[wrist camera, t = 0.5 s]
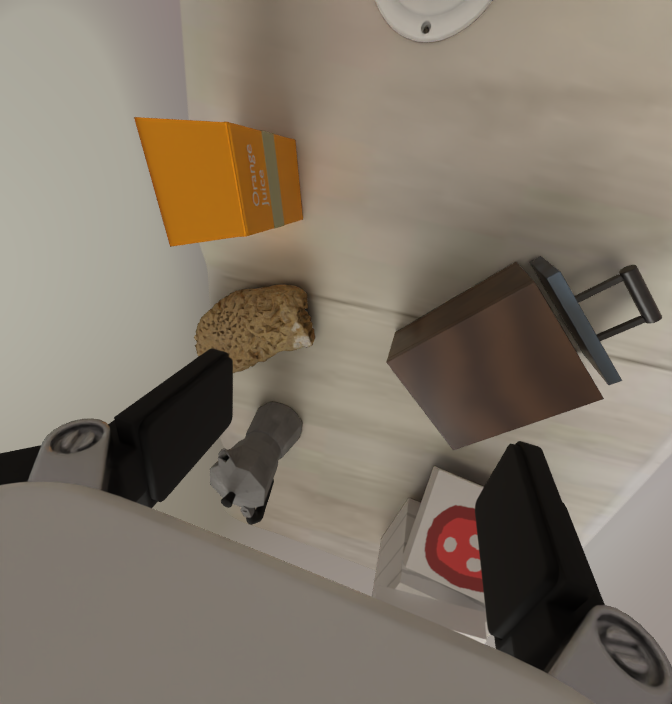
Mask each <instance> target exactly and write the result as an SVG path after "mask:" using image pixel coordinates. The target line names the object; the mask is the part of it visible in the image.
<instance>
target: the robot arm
mask: <svg viewBox="0 0 672 704" xmlns="http://www.w3.org/2000/svg"><path fill="white" fill-rule="evenodd" d="M492 1H493V0H375V2H376V5H377V7H378V9H379V11H380V12H381V14H382V16H383V18H384V20H385V21H386V22H387V23H388V24H389V25H390V27H391V28H392V29H393V30H394V31H396V32H397V33H399V34H400V35H402V36H403V37H405V38H408V39H410V40H413V41H418V42H434V41H441V40H443V39H446V38H448V37H451V36H454V35H455V34H457V33H459V32H460V31H462V30H463V29H465V28H466V27H468V26H469V25H470V24H471V23H472V22H474V21H475V20H476V19H477V18H478V17H479V16H480V15H481V14H482V13H483V12H484V10H485V9H486V8H487V7H488V6H489V5H490V3H491V2H492ZM425 28H429V31H428V33H426V34H425V33H424V32H423V31H424V29H425ZM232 409H233V360H232V358H229V354H228V353H227V352H224V351H220V350H217V349H214V348H211V349H209V350H207V351H206V352H205V353H203V354H202V355H200V356H199V357H198V358H196V359H195V360H194V361H192V362H191V363H189V364H188V365H187V366H185V367H184V368H182V369H181V370H180V371H178V372H177V373H175V374H174V375H173V376H171V377H170V378H168V379H167V380H166V381H164V382H163V383H161V384H160V385H159V386H157V387H156V388H154V389H153V390H152V391H150V392H149V393H147V394H146V395H145V396H143V397H142V398H140V399H139V400H138V401H136V402H135V403H134V404H132V405H131V406H129V407H128V408H126V409H125V410H124V411H122V412H121V413H120V414H118V415H117V416H115V417H114V419H115V420H114V421H112V422H111V423H110V424H107V423H106V422H104V421H102V420H99V419H80V420H75V421H71V422H69V423H66V424H64V425H62V426H60V427H58V428H56V429H54V430H53V431H52V432H51V433H50V434H48V435H47V436H46V438H45V439H44V441H43V443H42V445H41V446H35V447H31V448H26V449H20V450H15V451H10V452H5V453H0V704H672V666H671V664H670V662H669V660H668V659H667V657H666V655H665V653H664V651H663V650H662V649H661V647H660V646H659V645H658V643H657V642H656V641H655V639H654V638H653V637H652V636H651V635H650V634H649V633H648V632H647V631H646V630H645V629H644V628H643V627H642V626H641V625H640V624H639V623H638V622H637V621H635V620H634V619H633V618H631V617H630V616H629V615H627V614H626V613H623V612H622V611H620V610H618V609H616V608H614V607H610V606H606V605H605V604H604V602H603V599H602V597H601V594H600V592H599V589H598V587H597V584H596V581H595V579H594V576H593V574H592V571H591V569H590V566H589V564H588V561H587V559H586V556H585V554H584V551H583V548H582V546H581V543H580V541H579V538H578V536H577V533H576V531H575V528H574V525H573V523H572V520H571V518H570V515H569V513H568V510H567V508H566V506H565V504H564V503H563V502H562V500H561V498H560V495H559V492H558V490H557V487H556V485H555V482H554V479H553V477H552V474H551V472H550V469H549V466H548V464H547V461H546V459H545V456H544V454H543V451H542V449H541V448H540V447H538V446H534V445H531V444H528V443H524V442H521V441H518V442H517V443H516V444H510V445H509V446H508V447H507V449H506V451H505V452H504V454H503V456H502V457H501V459H500V461H499V462H498V464H497V466H496V468H495V469H494V471H493V473H492V474H491V476H490V478H489V479H488V481H487V483H486V485H485V486H484V488H483V490H482V491H481V493H480V495H479V496H478V498H477V500H476V504H475V517H476V527H477V536H478V545H479V554H480V564H481V573H482V582H483V591H484V600H485V610H486V619H487V627H488V631H489V633H490V634H491V635H493V636H494V637H495V646H496V649H495V648H492V647H490V646H488V645H485V644H483V643H481V642H478V641H476V640H474V639H471V638H469V637H467V636H465V635H462V634H460V633H458V632H455V631H453V630H451V629H448V628H446V627H444V626H441V625H439V624H436V623H434V622H432V621H429V620H427V619H424V618H422V617H419V616H417V615H415V614H412V613H410V612H407V611H405V610H402V609H400V608H398V607H395V606H393V605H390V604H388V603H385V602H383V601H381V600H378V599H376V598H373V597H371V596H368V595H366V594H363V593H361V592H359V591H356V590H354V589H351V588H349V587H346V586H344V585H342V584H339V583H337V582H334V581H331V580H329V579H327V578H324V577H322V576H319V575H317V574H314V573H312V572H310V571H307V570H304V569H302V568H300V567H297V566H295V565H292V564H290V563H287V562H285V561H282V560H280V559H277V558H275V557H272V556H270V555H268V554H265V553H263V552H260V551H258V550H255V549H253V548H250V547H248V546H245V545H243V544H240V543H238V542H235V541H233V540H230V539H228V538H225V537H222V536H220V535H218V534H215V533H213V532H210V531H208V530H205V529H203V528H200V527H198V526H195V525H193V524H190V523H188V522H185V521H182V520H180V519H178V518H175V517H173V516H170V515H168V514H165V513H162V512H160V511H157V510H154V509H152V507H153V506H154V505H155V504H156V503H157V502H162V501H163V500H165V499H166V498H167V496H168V495H169V494H170V493H171V492H172V491H173V490H174V488H175V487H176V486H177V485H178V484H179V483H180V481H181V480H182V479H183V478H184V477H185V476H186V474H187V473H188V472H189V471H190V470H191V469H192V468H193V467H194V465H195V464H196V463H197V462H198V461H199V460H200V459H201V457H202V456H203V455H204V454H205V453H206V452H207V451H208V449H209V448H210V447H211V446H212V444H214V442H215V441H216V440H217V439H218V438H219V437H220V436H221V434H222V433H223V432H224V431H225V430H226V429H227V428H228V426H229V425H230V423H231V421H232Z"/></svg>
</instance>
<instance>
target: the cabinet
mask: <svg viewBox="0 0 672 704" xmlns="http://www.w3.org/2000/svg"><path fill="white" fill-rule="evenodd" d="M387 364H388V365H389V366H390V368H391V369H392V370H393V372H394V373H395V374H396V376H397V377H398V378H399V380H400V381H401V382H402V384H403V385H404V386H405V387H406V389H407V390H408V391H409V393H410V394H411V395H412V397H413V398H414V399H415V401H416V402H417V403H418V405H419V406H420V407H421V408H422V410H423V411H424V412H425V414H426V415H427V416H428V418H429V419H430V420H431V422H432V423H433V424H434V426H435V427H436V428H437V430H438V431H439V432H440V433H441V435H442V436H443V437H444V439H445V440H446V441H447V443H448V444H449V445H450V447H451V448H452V449H453V450H456V449H459V448H461V447H464V446H467V445H470V444H473V443H476V442H479V441H482V440H485V439H488V438H491V437H494V436H497V435H500V434H502V433H505V432H508V431H511V430H514V429H517V428H520V427H523V426H526V425H529V424H532V423H535V422H538V421H541V420H543V419H546V418H549V417H552V416H555V415H558V414H561V413H564V412H567V411H570V410H573V409H576V408H579V407H582V406H584V405H587V404H590V403H593V402H596V401H599V400H602V399H604V398H603V396H602V395H601V393H600V391H599V390H598V388H597V386H596V385H595V383H594V381H593V379H592V378H591V376H590V374H589V373H588V371H587V369H586V368H585V366H584V364H583V363H582V361H581V359H580V358H579V356H578V354H577V352H576V351H575V349H574V347H573V346H572V344H571V342H570V341H569V339H568V337H567V336H566V334H565V332H564V330H563V329H562V327H561V325H560V324H559V322H558V320H557V319H556V317H555V315H554V314H553V312H552V310H551V308H550V307H549V305H548V303H547V302H546V300H545V298H544V297H543V295H542V293H541V292H540V290H539V288H538V287H537V285H536V283H535V282H534V281H533V280H532V278H531V277H530V276H529V275H528V274H527V273H526V272H525V271H524V270H523V269H522V267H521V266H520V265H519V264H518V263H517V262H514V263H513V264H511V265H509V266H508V267H506V268H504V269H502V270H501V271H499V272H497V273H496V274H494V275H492V276H490V277H489V278H487V279H485V280H484V281H482V282H480V283H479V284H477V285H475V286H473V287H472V288H470V289H468V290H467V291H465V292H463V293H461V294H460V295H458V296H456V297H455V298H453V299H451V300H450V301H448V302H446V303H444V304H443V305H441V306H439V307H438V308H436V309H434V310H432V311H431V312H429V313H427V314H426V315H424V316H422V317H421V318H419V319H417V320H415V321H414V322H412V323H410V324H409V325H407V326H405V327H404V328H402V329H400V330H398V331H397V332H395V335H394V338H393V342H392V345H391V349H390V352H389V355H388V359H387Z"/></svg>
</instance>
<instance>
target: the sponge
mask: <svg viewBox="0 0 672 704" xmlns="http://www.w3.org/2000/svg"><path fill="white" fill-rule="evenodd" d="M307 298H308V297H307V294H306V292H305V291H303V290H302V289H300V288H298V287H296V286H292V285H273V286H270V287H263V288H258V289H242V290H238V291H235V292H233V293H230V295H228V296H226V297H225V298H223V299H221V300H219V302H218V303H216V304H215V305H214V306H213V308H212V309H210V310H209V311H208V312H207V313H206V314H204V316H203V317H201V319H200V323H198V326H197V330H196V335H195V337H194V338H195V340H196V341H197V344H196V345H195V347H196V350H197V354H198V356H200V355H202V354H203V353H205V352H206V351H207V350H209V349H211V348H214V349H217V350H220V351H224V352H227V353H228V354H229V358H232V360H233V373H235V372H239V371H243V370H245V369H247V368H249V367H250V366H252V367H253V366H254V365H255V364H256V363H257V362H264V361H266V360H267V359H268V358H270V357H272V356H274V355H275V354H276V353H278V352H281V351H284V350H285V351H293V350H296V349H299V348H302V347H303V346H304V347H306V348H307V347H310V346H312V345H313V342H314V339H315V334H314V329H313V328H312V322H310V321H311V317H310V316H309V314H308V312H307V311H305V308H308V304H307Z"/></svg>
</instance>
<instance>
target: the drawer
mask: <svg viewBox="0 0 672 704" xmlns="http://www.w3.org/2000/svg"><path fill="white" fill-rule="evenodd" d="M530 264H531V266H532V267H533V269H534V271H535V273H536V274H537V276H538V278H539V279H540V281H541V283H542V284H543V286H544V288H545V290H546V291H547V293H548V295H549V296H550V298H551V300H552V302H553V303H554V305H555V307H556V308H557V310H558V312H559V313H560V315H561V317H562V319H563V320H564V322H565V324H566V325H567V327H568V329H569V330H570V332H571V334H572V336H573V337H574V339H575V341H576V342H577V344H578V346H579V348H580V349H581V351H582V353H583V354H584V356H585V357H586V358H587V359H588V361H589V362H590V363H591V364H592V366H593V367H594V368H595V369H596V370H597V372H598V373H599V374H600V375H601V377H602V378H603V379H604V380H605V382H606V383H607V384H608V385H611V384H614V383H617V382H620V381H622V379H621V378H620V376H619V374H618V372H617V371H616V369H615V367H614V365H613V364H612V362H611V360H610V358H609V357H608V355H607V353H606V351H605V349H604V348H603V346H602V344H601V342H600V341H602V340H604V339H607V338H609V337H611V336H614V335H616V334H619V333H621V332H623V331H626V330H628V329H631V328H633V327H635V326H638V325H640V324H643V323H655V322H657V321H659V320H661V319H662V315H661V313H660V311H659V309H658V307H657V305H656V303H655V301H654V299H653V297H652V295H651V293H650V292H649V290H648V288H647V286H646V284H645V282H644V280H643V278H642V276H641V274H640V272H639V270H638V268H637V266H636V265H630V266H627V267H624V268H623V269H621V270H620V271H619V274H620V275H619V274H618V275H616V276H614V277H612V278H610V279H608V280H606V281H604V282H602V283H600V284H598V285H596V286H594V287H592V288H590V289H588V290H586V291H584V292H582V293H580V294H578V295H576V296H574V295H573V293H572V291H571V289H570V288H569V286H568V284H567V282H566V281H565V279H564V277H563V275H562V274H561V272H560V271H559V270H558V269H557V268H555V267H554V266H553V265H551V264H550V263H549V262H548V261H546V260H545V259H544V258H542V257H541V256H540V257H538V258H536V259H535V260H533V261H531V262H530ZM622 281H623V282H624V283H625V285H626V287H627V289H628V291H629V293H630V295H631V297H632V299H633V301H634V303H635V305H636V307H637V308H638V310H639V312H640V314H641V316H642V317H641V316H638V317H636V318H634V319H631V320H629V321H627V322H624V323H622V324H620V325H617V326H615V327H613V328H610V329H608V330H606V331H603V332H601V333H599V334H595V332H594V330H593V328H592V326H591V325H590V323H589V321H588V319H587V318H586V316H585V314H584V312H583V311H582V309H581V307H580V305H579V304H578V302H581V301H583V300H585V299H587V298H589V297H591V296H593V295H595V294H597V293H599V292H601V291H603V290H605V289H607V288H610V287H612V286H614V285H616V284H618V283H620V282H622Z"/></svg>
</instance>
